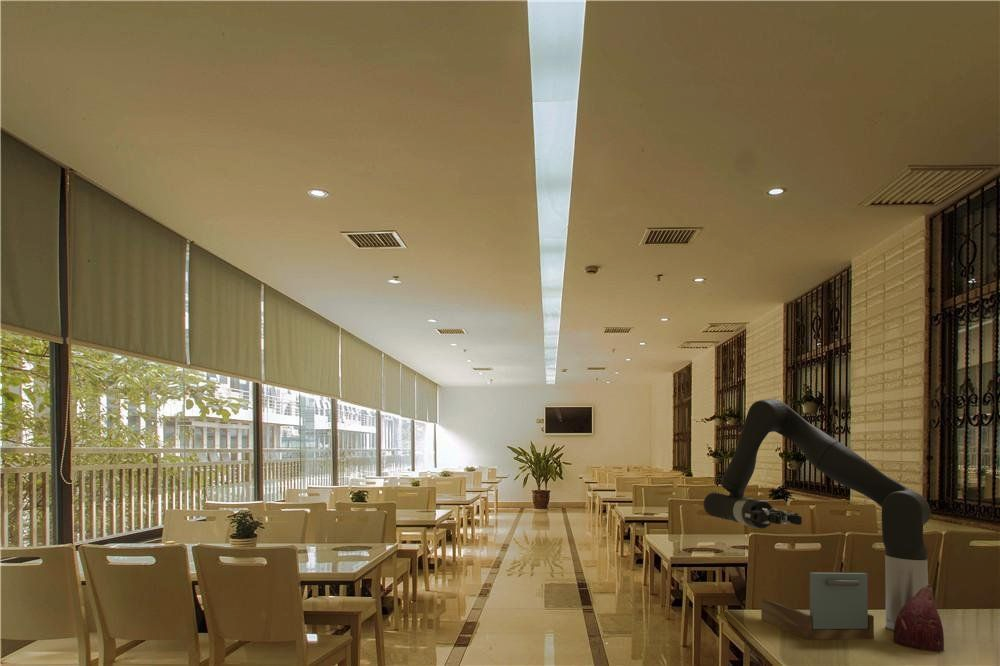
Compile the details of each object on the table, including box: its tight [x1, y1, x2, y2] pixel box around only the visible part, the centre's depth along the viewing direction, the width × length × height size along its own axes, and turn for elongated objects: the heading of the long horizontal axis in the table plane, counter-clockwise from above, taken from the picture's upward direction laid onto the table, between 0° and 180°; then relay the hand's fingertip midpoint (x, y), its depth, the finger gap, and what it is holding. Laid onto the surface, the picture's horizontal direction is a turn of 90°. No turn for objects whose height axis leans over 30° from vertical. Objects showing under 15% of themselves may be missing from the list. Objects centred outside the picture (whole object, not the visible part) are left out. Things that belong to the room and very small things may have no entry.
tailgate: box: [809, 571, 869, 629], centre depth 178 cm, size 14×2×12 cm, turn 104°
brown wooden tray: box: [760, 598, 875, 640], centre depth 186 cm, size 18×18×5 cm
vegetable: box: [892, 583, 945, 652], centre depth 177 cm, size 10×10×15 cm
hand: (789, 520), depth 199 cm, fingers open, 5 cm apart
